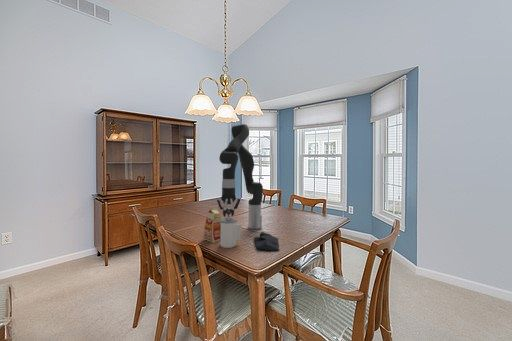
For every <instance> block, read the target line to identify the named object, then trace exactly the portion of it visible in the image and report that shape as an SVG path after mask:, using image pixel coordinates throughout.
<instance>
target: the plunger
mask: <svg viewBox="0 0 512 341" xmlns="http://www.w3.org/2000/svg"><path fill="white" fill-rule="evenodd" d="M231 209H232V208H231V207H230V208H229V207H226V209H225V210H226V215H227V218H228V220H229V218H230V215H231V212H232V210H231Z"/></svg>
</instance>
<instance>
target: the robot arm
mask: <svg viewBox="0 0 512 341" xmlns="http://www.w3.org/2000/svg"><path fill="white" fill-rule="evenodd" d="M231 134H232V135H231V136H232V139H231V140H230V142H229V143H228V145H227V147H226V148H224V149H223V150H222V151H221V152H220V155H219V159H218V160H219V162H220V163H221V165H230V166H229V167H227V168H223V169H222V179H221V180H222V181H221V197H220V198H217V199H216V201H217V205H218V207H219V209H220V210H222V216H223V218H227V216H226V215H227V214H226V209H227V205H230V209H231V210H232V212H231V214H230V216H231V217H234V216H235V210H236V209H238V207H239V204H240V201H241V199H240V198H239V197H238V198H237V196H236V169H237V165H238V162H240V165H241V169H242V172H243V177H244V183H245V184H244V185H245V189H246V192H247V193H248V194H249V195H252V198H251V199H249V200H248V208H247V209H248V217H247V218H248V219H247V223H248V224H247V227H248V229H250V230H251V229H252V230H260V229H262V226H263V225H262V221H263V220H262V218H263V216H262V202H263V192H264V188H263V183H261V182H257V181H254V177H253V172H254V168H255V160H254V157H253V154H252V153H251V152H250V150H249V149H247V148H246V147H245V146H244V142H245V141H246V140H247V139H248V137H249V135H250V128H249V125H247V123H242V124H238V125H232V127H231ZM222 202H223V206H222V204H221V203H222ZM235 202H236V203H235ZM234 203H235V205H234Z"/></svg>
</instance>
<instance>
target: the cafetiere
mask: <svg viewBox="0 0 512 341" xmlns="http://www.w3.org/2000/svg"><path fill="white" fill-rule="evenodd" d="M237 222H238V219H237V218H235V217H232V216H231V217H230V216H229V220H228V217H222V218H220V240H219V243H220V247H222V248H224V249H231V248H234V247H236V246H237V240H238V241H240V240H242V223H237Z"/></svg>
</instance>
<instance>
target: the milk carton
mask: <svg viewBox="0 0 512 341" xmlns="http://www.w3.org/2000/svg"><path fill="white" fill-rule="evenodd" d="M220 219H221V214H220V212H219V211H218V208H211V207H210V208H209V210H208V212H207V216H206V218H205V224H204V230H203V237H202V240H204V241H206V240H207V241H206V242H209V241H210V243H216V241H217V242H218V241H219V242H220Z"/></svg>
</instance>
